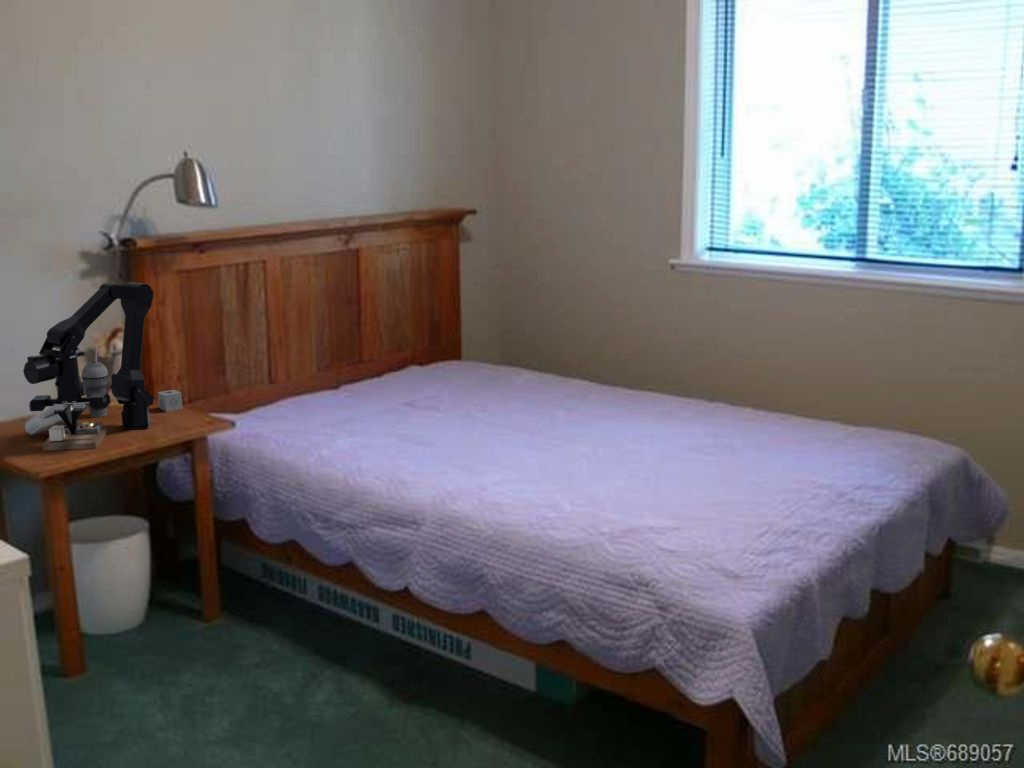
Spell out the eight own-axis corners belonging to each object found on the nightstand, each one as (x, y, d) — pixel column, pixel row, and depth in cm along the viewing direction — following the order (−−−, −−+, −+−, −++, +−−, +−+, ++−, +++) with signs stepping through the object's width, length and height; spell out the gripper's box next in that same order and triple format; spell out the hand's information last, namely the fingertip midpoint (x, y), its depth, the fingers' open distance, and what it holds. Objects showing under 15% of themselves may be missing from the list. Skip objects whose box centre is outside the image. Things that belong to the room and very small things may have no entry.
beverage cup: (93, 411, 317) (86, 343, 312) (117, 412, 316) (110, 344, 311) (80, 418, 310) (73, 349, 305) (104, 419, 309) (97, 349, 304)
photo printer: (57, 408, 301) (71, 398, 291) (65, 422, 301) (78, 412, 291) (21, 422, 294) (34, 412, 285) (29, 437, 294) (41, 427, 285)
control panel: (107, 432, 297) (106, 422, 296) (95, 448, 283) (94, 437, 283) (56, 434, 295) (55, 424, 294) (42, 450, 282) (41, 439, 281)
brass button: (96, 428, 295) (95, 421, 294) (93, 432, 292) (92, 424, 291) (83, 429, 294) (83, 421, 294) (81, 432, 291) (80, 425, 291)
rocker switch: (72, 424, 294) (72, 421, 294) (67, 425, 290) (67, 422, 290) (61, 424, 294) (61, 421, 294) (56, 425, 289) (56, 422, 289)
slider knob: (65, 437, 287) (63, 426, 286) (62, 440, 284) (61, 429, 283) (53, 437, 286) (51, 426, 285) (50, 441, 283) (48, 429, 282)
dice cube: (175, 406, 323) (174, 389, 322) (182, 409, 319) (181, 392, 318) (159, 409, 320) (157, 392, 319) (166, 412, 316) (164, 395, 315)
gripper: (112, 366, 290) (117, 423, 294) (38, 369, 288) (44, 426, 292) (102, 377, 280) (108, 435, 283) (25, 379, 277) (32, 439, 281)
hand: (73, 433), depth 285 cm, fingers closed
